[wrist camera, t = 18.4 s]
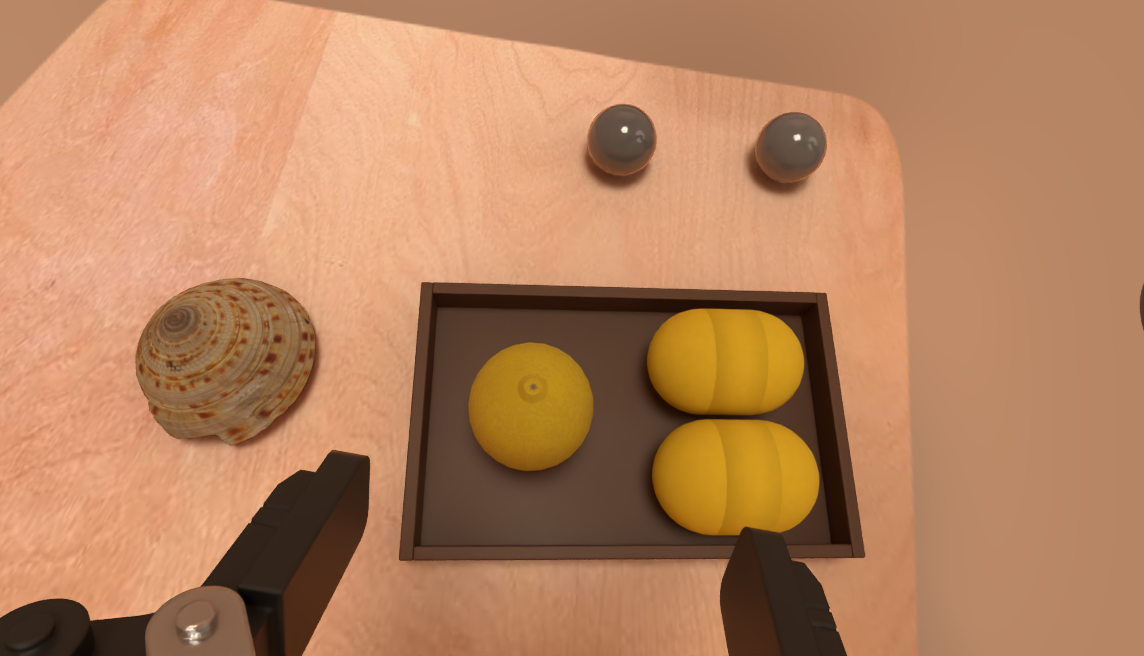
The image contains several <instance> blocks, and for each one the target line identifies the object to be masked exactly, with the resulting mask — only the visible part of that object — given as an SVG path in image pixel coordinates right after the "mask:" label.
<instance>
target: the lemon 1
mask: <svg viewBox="0 0 1144 656" xmlns="http://www.w3.org/2000/svg"><path fill="white" fill-rule="evenodd" d="M468 407H469V420H470V424H471V427H472V430H473V433H474V436H475V438H476V439H477V441H478V442H479V444H480V445H481V446H482V448H483V449H484V451H485V452H486V453H488V454H489V455H490V456H491V457H492V458H493V459H495V460H496V461H497V462H499V463H501V464H503V465H505V466H507V467H509V468H513V469H518V470H523V471H536V470H544V469H547V468H550V467H553V466H556V465H558V464H560V463H561V462H563V461H564V460H566V459H568V458H569V457H570V456H571V455H572V454H573V453H574V452H575V451H576V450H577V449H578V448H579V447H580V446H581V445H582V443H583V441H584V439H585V437H586V435H587V433H588V432H589V429H590V425H591V421H592V417H593V395H592V391H591V388H590V384H589V381H588V379H587V377H586V376H585V374H584V372H583V370H582V368H581V367H580V366H579V365H578V364H577V363H576V362H575V361H574V360H573V359H572V358H571V356H569V355H568V354H566V353H564V352H563V351H561V350H560V349H558V348H555V347H552V346H549V345H546V344H543V343H530V342H529V343H523V344H517V345H513V346H511V347H508V348H506V349H504V350H501V351H500V352H499V353H497V354H496V355H494V356H493V357H492V358H490V359H489V360H488V361H487V363H486V364H485V365H484V366H483V367H482V369H481V370H480V371H479V373H478V374H477V377H476V379H475V381H474V383H473V385H472V387H471V392H470V398H469V403H468Z"/></svg>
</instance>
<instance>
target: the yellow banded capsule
mask: <svg viewBox="0 0 1144 656" xmlns="http://www.w3.org/2000/svg"><path fill="white" fill-rule="evenodd" d="M652 481H653V486H654V490H655V494H656V497H657V499H658V501H659V503H660V505H661V507H662V508H663V509H664V510H665V512H666V513H667V514H668V515H669V517H670V518H672V519H673V520H674V521H675V522H676V523H677V524H679V525H680V526H682V527H684V528H686V529H688V530H690V531H693V532H697V533H700V534H705V535H740V532H741V530H742V529H743V528H744V527H752V528H757V529H762V530H768V531H773V532H779V533H781V532H784V531H787V530H789V529H791V528H793V527H795V526H796V525H798V524H799V523H800V522H801V521H802V520H803V519H804V518H805V517H806V516H807V515H808V514H809V513H810V511H811V509H812V508H813V506H814V504H815V502H816V499H817V496H818V490H819V472H818V467H817V464H816V461H815V458H814V456H813V454H812V452H811V450H810V449H809V448H808V446H807V445H806V443H805V442H804V441H803V440H802V439H801V438H800V437H799V436H798V435H797V434H795V433H794V432H793V431H791V430H790V429H788V428H786V427H784V426H783V425H780V424H776V423H773V422H770V421H764V420H724V419H705V420H696V421H693V422H690V423H686V424H684V425H682V426H680V427H678V428H676V429H675V430H674V431H672V432H671V433H670V434H669V435H668V436H667V437H666V438H665V440H664V441H663V442H662V444H661V445H660V446H659V449H658V451H657V453H656V455H655V458H654V463H653V468H652Z"/></svg>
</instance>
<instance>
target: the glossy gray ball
mask: <svg viewBox="0 0 1144 656" xmlns="http://www.w3.org/2000/svg"><path fill="white" fill-rule="evenodd" d="M826 150H827V139H826V135H825V132H824V130H823V128H822V126H821V125H820V124H819V122H818V121H817V120H815V119H814V118H813V117H811V116H809V115H807V114H804V113H799V112H789V113H784V114H781V115H779V116H777V117H775V118H773V119H772V120H770V121H769V122H768V123H767V124H766V125H765V126H764V127H763V129H762V130H761V131H760V133H759V135H758V137H757V140H756V144H755V157H756V161H757V164H758V166H759V168H760V169H761V171H762V172H763V173H764V174H765V175H766V176H767V177H769V178H771V179H772V180H775V181H777V182H782V183H793V182H798V181H801V180H803V179H805V178H807V177H809V176H810V175H812V174H813V173H814V172H815V171H816V170H817V169H818V168H819V166H820V165H821V163H822V162H823V159H824V157H825V154H826Z"/></svg>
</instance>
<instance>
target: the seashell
mask: <svg viewBox="0 0 1144 656" xmlns="http://www.w3.org/2000/svg"><path fill="white" fill-rule="evenodd" d="M314 352H315V336H314V330H313V327H312V324H311V322H310V319H309V317H308V315H307V313H306V311H305V310H304V308H303V307H302V305H301V304H300V303H299V302H298V301H297V300H296V299H295V298H293V297H292V296H291V295H290V294H288V293H287V292H286V291H284V290H282V289H280V288H277V287H275V286H272V285H269V284H266V283H264V282H261V281H257V280H251V279H244V278H235V279H223V280H217V281H213V282H208V283H204V284H201V285H198V286H195V287H193V288H190V289H187V290H186V291H184V292H181V293H180V294H178V295H177V296H175V297H173V298H172V299H170V300H169V301H167V302H166V303H165V304H164V305H163V306H161V307H160V308H159V309H158V310H157V311H156V313H155V314H154V315H153V316H152V318H151V319H150V321H149V323H148V324H147V325H146V327H145V329H144V330H143V333H142V335H141V338H140V340H139V343H138V347H137V352H136V376H137V378H138V381H139V384H140V386H141V388H142V391H143V392H144V395H145V396H146V397H147V399H148V400H149V402H148V404H149V411H150V412H151V413H152V414H153V415H154V418H155V420H156V421H157V423H159V424H160V425H161V426H162V427H163V429H164V430H165V431H166V432H167V433H168V434H169V435H170V436H172V437H174V438H178V439H181V438H188V439H191V438H195V437H200V436H209V435H216V436H218V437H219V438H220V439H222V440H223V441H224V442H226V443H227V444H229V445H235V444H237V443H240V442H242V441H245V440H247V439H250V438H252V437H254V436H256V435H257V434H258V433H259V432H260V431H262V430H264V429H266V428H267V427H268V426H269V425H270V424H271V423H272V422H273V420H274V419H275V418H276V417H277V416H279V415H281V414H284V411H286V410H287V408H288V407H289V406H290V405H291V404H292V403H293V402H294V401H295V400H296V398H297V397H298V395H299V394H300V392H301V391H302V389H303V387H304V386H305V383H306V381H307V379H308V376H309V374H310V371H311V368H312V364H313V360H314ZM280 412H281V413H280Z"/></svg>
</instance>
